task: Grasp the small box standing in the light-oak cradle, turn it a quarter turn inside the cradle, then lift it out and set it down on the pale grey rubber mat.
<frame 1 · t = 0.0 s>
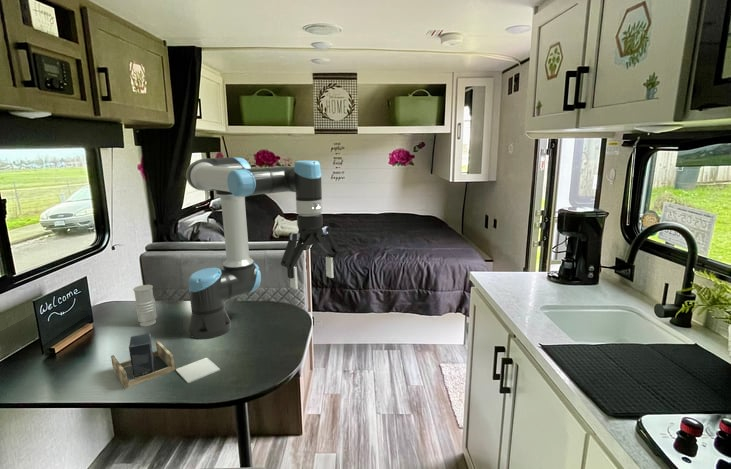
hand: (312, 282, 122), 28 cm above the table, fingers open, 13 cm apart
cradle: (144, 370, 127), on the table
box: (144, 370, 127), resting in cradle
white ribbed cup: (148, 323, 160), on the table
mat: (197, 370, 126), on the table
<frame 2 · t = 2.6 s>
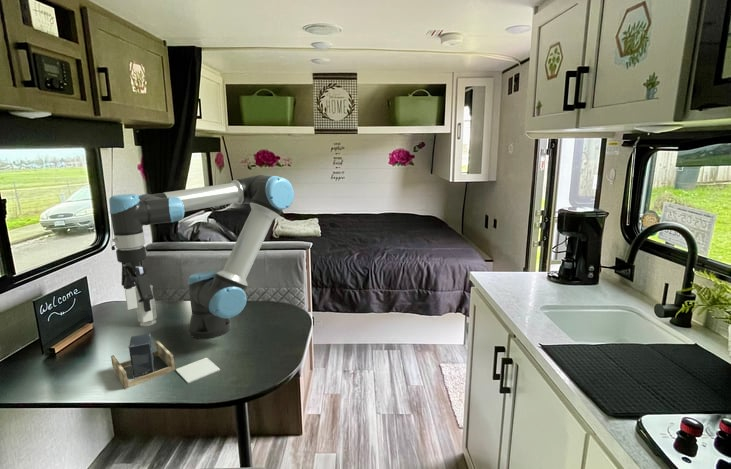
hand: (140, 314, 122), 19 cm above the table, fingers open, 13 cm apart
nothing on the table moved.
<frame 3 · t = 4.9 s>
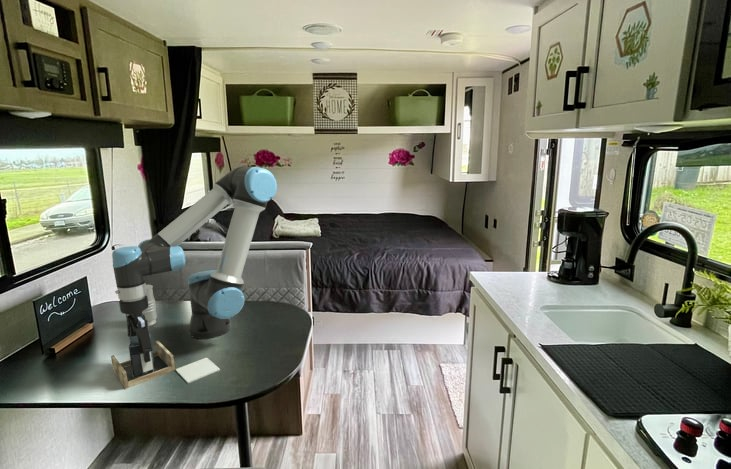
hand: (143, 364, 126), 2 cm above the table, fingers closed on box, 9 cm apart
box: (144, 370, 127), resting in cradle, touching gripper
everything else where it was.
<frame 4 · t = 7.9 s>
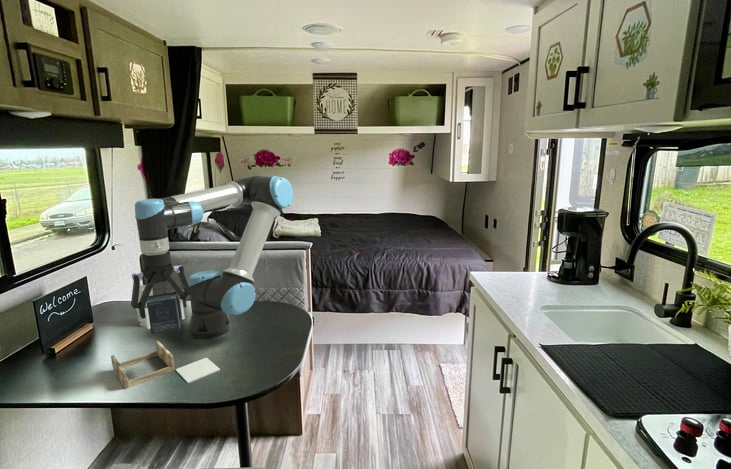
hand: (165, 322, 123), 16 cm above the table, fingers closed on box, 9 cm apart
box: (166, 329, 123), point 14 cm above the table, touching gripper
everything else where it was.
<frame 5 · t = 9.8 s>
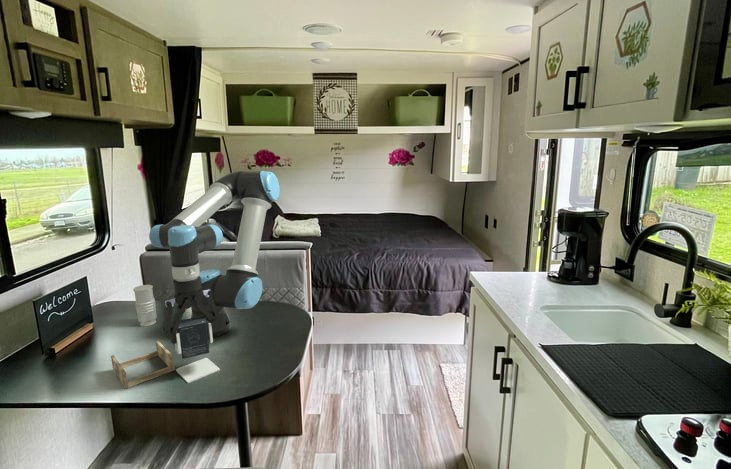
hand: (194, 346, 124), 8 cm above the table, fingers closed on box, 9 cm apart
box: (195, 353, 125), point 6 cm above the table, touching gripper
everything else where it was.
when the fingers open (4 cm above the table, at t = 11.1 s): box drops 1 cm, resting on mat.
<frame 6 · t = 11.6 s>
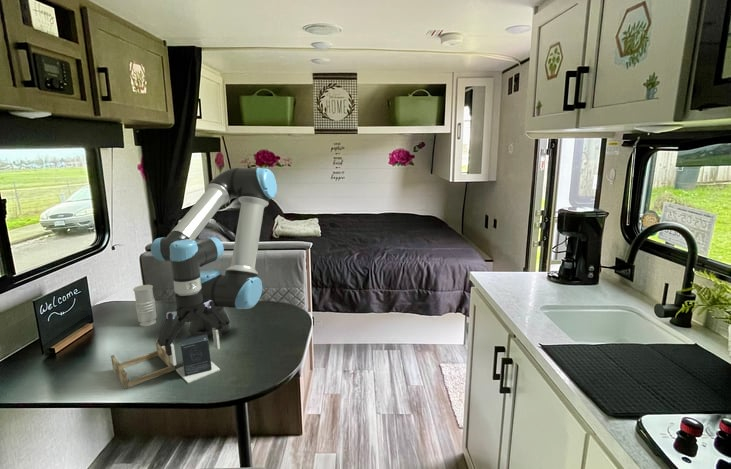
hand: (196, 355, 125), 5 cm above the table, fingers open, 13 cm apart
box: (197, 369, 126), resting on mat
everything else where it was.
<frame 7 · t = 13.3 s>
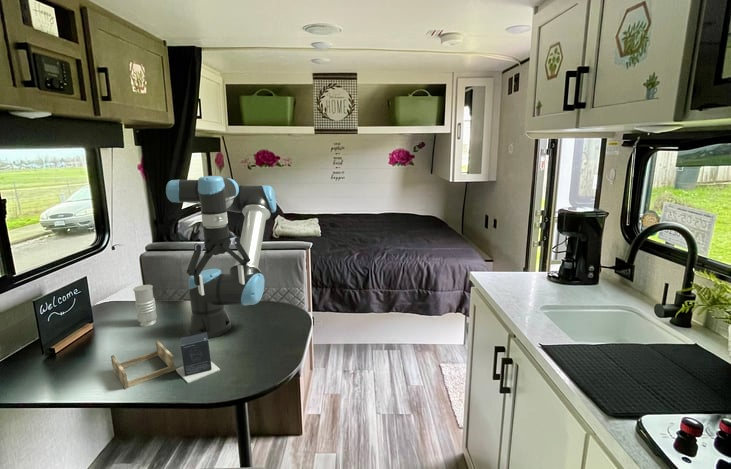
hand: (222, 288, 131), 23 cm above the table, fingers open, 13 cm apart
nothing on the table moved.
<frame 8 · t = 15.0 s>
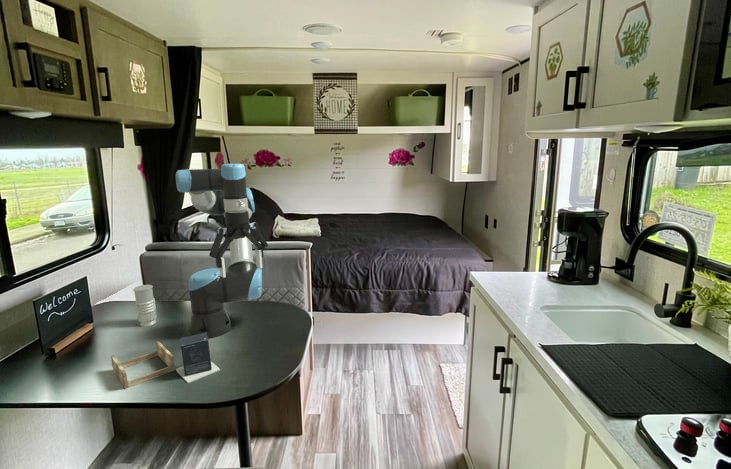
hand: (241, 271, 137), 27 cm above the table, fingers open, 13 cm apart
nothing on the table moved.
at the end: box inside the target area on the mat (0.0 cm from its centre), point 0.2 cm above the mat's base; box tilted 0°; the gripper is holding nothing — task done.
